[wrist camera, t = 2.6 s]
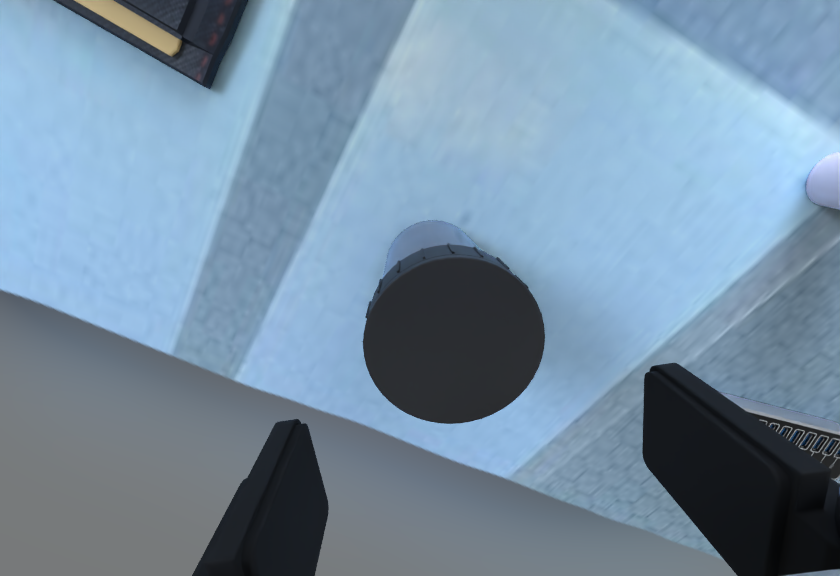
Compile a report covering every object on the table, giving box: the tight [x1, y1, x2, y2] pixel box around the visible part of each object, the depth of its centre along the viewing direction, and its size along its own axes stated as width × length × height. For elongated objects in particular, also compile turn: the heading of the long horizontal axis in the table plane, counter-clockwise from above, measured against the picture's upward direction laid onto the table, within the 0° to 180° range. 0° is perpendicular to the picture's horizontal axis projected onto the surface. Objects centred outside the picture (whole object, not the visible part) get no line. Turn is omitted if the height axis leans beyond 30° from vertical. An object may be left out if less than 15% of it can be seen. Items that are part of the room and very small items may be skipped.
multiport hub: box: [719, 392, 840, 480], centre depth 32 cm, size 4×14×2 cm, turn 74°
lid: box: [363, 243, 545, 424], centre depth 17 cm, size 7×7×3 cm
